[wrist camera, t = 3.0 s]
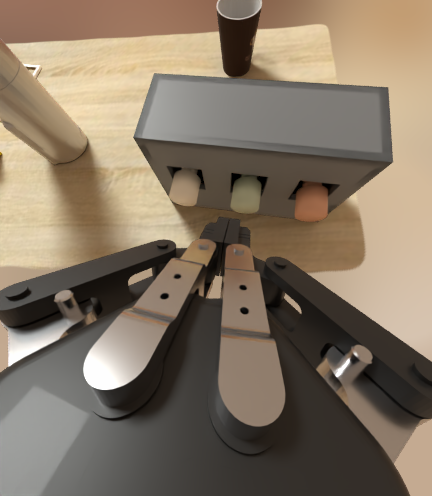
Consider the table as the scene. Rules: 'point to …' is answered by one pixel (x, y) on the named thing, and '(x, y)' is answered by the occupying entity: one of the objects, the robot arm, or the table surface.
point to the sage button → (246, 194)
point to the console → (265, 136)
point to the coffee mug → (237, 33)
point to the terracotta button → (311, 202)
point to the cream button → (185, 187)
